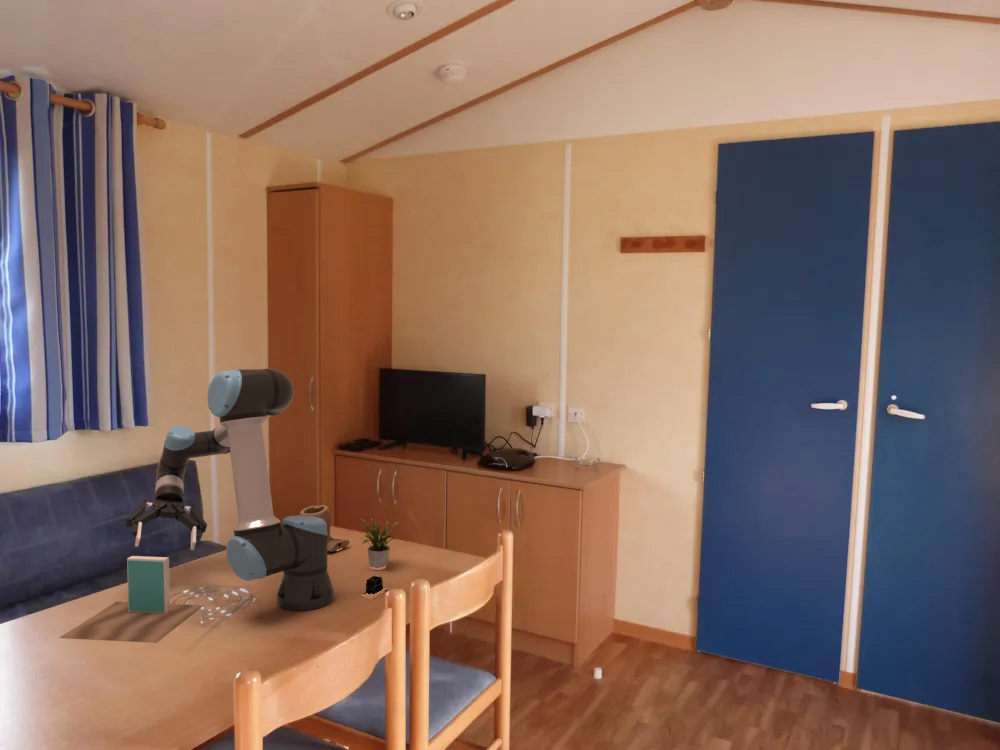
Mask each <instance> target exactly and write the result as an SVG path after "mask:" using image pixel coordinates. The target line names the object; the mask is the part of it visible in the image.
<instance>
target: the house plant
mask: <svg viewBox="0 0 1000 750" xmlns="http://www.w3.org/2000/svg"><path fill="white" fill-rule="evenodd" d="M358 519H359V520H362V521H363V522H364V523H365V524H366V525H363V524H362V525H361V524H360V526H361V527H364V528H363V530H364V531H365V532H366V534H364V535H363V537H365V538H366V539H364V540H363V541H362V544H361V545H364V544H366V543H369V542H371V544H372V545H370V546H368V547H367V549H366V550H367V555H368V564H369V567H370V566H371V567H375V568H380V567H384V566H386V565H387V566H388V563H389V557H390V550H391V547H390V546H389V545H387V544H388V543H389V542H391V541H392V540H394V539H395V537H394V535H392V534H390V535H388V533H389V532H390V531H391V530H392V529H393V528H394V526H395V525H397V524H399V523H400V522H401V521H397V522H395V523H393V524H392V525H391V526H389V527H388V524H389V520H387V522H386V524H385V526H384V529H383V531H381V532H380V529H381V525H382V523H381V522H379V524H378V525H377V524H376V522H375V520H374V518H372V517H371V518H370V520H371V523H372V528H371V526H370V525H369V523H368V522H367V520H365V519H362V518H360V517H359V518H358ZM366 529H367V530H366ZM391 537H392V538H391ZM389 538H390V539H389ZM357 539H361V540H362V538H360V537H358V538H357ZM388 539H389V540H388Z"/></svg>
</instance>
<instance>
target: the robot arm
mask: <svg viewBox="0 0 1000 750" xmlns="http://www.w3.org/2000/svg"><path fill="white" fill-rule="evenodd" d="M294 388H295V387H294V385H293V383H292V380H291V379H290V377H289V376H287V375H286V374H285V373H284V372H282V371H281V370H278V369H275V368H258V369H257V368H250V369H249V368H246V369H231V370H229V369H228V370H224V371H220V372H218V373H217V374H215V376H213V378H212V379H211V382H210V383H209V387H208V389H207V405H208V409H209V410H210V413H211V414H212V415H213V416H215V417H218V418H219V423H220V424H219V425H217V426H216V427H215V428H214V429H212V430H206V431H198V432H197V431H196V432H195V431H194V430H193V429H192V428H190V427H189V426H182V425H176V426H173V427H171V428H170V429H168V432H167V434H166V436H165V439H164V442H163V443H164V444H163V448H162V453H161V456H160V459H159V460H158V463H157V466H156V477H155V479H156V480H155V491H154V500H153V502H148V500H147V499H146V498H145V499H142V502H141V504H139V506H137V507H136V508H135V510H134V511H132V512H131V514H129V516H127V517H126V520H125V527H127V528H129V527H131V528H132V529H131V536H135V542H134V543H135V544H134V547H136V548H137V547H139V545H140V541H141V537H142V536H141V534H142V527H143V526H144V525H145V524H147V523H149V522H150V521H152V520H156V519H157V518H159V517H160V518H162V519H165V518H167V519H175V520H176V521H177V522H181V524H183V525H184V526H185V527H187V528H188V529H189V530H190V531H191V532H190V551H194V550H195V547H196V543H197V541H199V540H200V537H201V533H205V532H206V530H207V528H208V527H207V526H208V524H207V522H206V521H205V519H204V518H203V517H202V515H201V514H200V512H198V510H197V508H196V504H194V503H191V504H190V505H185V504H184V485H185V482H184V480H185V474H186V469H187V466H188V463H189V460H190V459H194V458H196V459H197V458H202V457H210V456H216V455H228V454H230V461H231V470H232V476H233V477H232V478H233V484H234V485H233V487H234V492H235V494H234V495H235V500H236V502H235V503H236V509H237V516H238V518H237V519H238V522H237V524H236V525H235V527H234V528H233V534H234V535H233V537H231V538H229V540H228V541H227V545H226V549H225V552H226V553H225V554H226V558H227V561H228V565H229V566H230V568H231V571H232V572H233V573H234V575H235V576H237V577H238V578H239V579H241V580H242V581H245V582H247V581H250V582H251V581H254V580H261V579H264V578H265V577H268V576H273V575H275V574H279V573H282V572H283V575H282V578H281V582H280V585H279V588H278V591H277V593H276V604H277V606H278V607H280V608H282V609H284V610H288V611H296V612H297V611H302V612H303V611H310V610H311V611H312V610H316V609H320V608H322V607H325V606H327V605H329V604H330V603H332V602H333V600H334V598H335V596H334V595H335V593H334V592H335V588H334V587H333V584H332V581H331V579H330V576H329V575H330V574H329V573H328V551H327V536H328V533H327V524H326V522H325V521H324V520H323V519H321V518H318V517H313V516H299V515H290V516H285V517H284V518H283V521H282V522H281V519H279V518H277V517H276V516H275V514H274V510H273V501H272V493H271V486H270V477H269V471H268V469H269V468H268V463H267V462H268V461H267V453H266V446H265V438H264V430H263V423H264V422H265V421H266V420H268V419H269V418H270V417H275V416H279V415H280V414H281V413H283V412H284V411H285V410H286V409H288V407H290V405H291V403H292V402H293V401H294V395H295V389H294ZM150 508H151V510H149V509H150ZM148 510H149V511H148Z"/></svg>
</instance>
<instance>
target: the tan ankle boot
mask: <svg viewBox="0 0 1000 750" xmlns="http://www.w3.org/2000/svg"><path fill="white" fill-rule="evenodd" d="M298 516H313V517H318V518H321V519H323V520H324V521H325V522H326V524H327V533H328V536H327V552H333V551H335V550H337V549H340V548H343V547H345V548H347V547H348V545H350V540H349V539H340V538H333V537H332V536H331V528H332V512H331V509H330V507H329V506H327V505H325V504H321V505H310V506H307V507H305V508H304V509H302V510H301V511H300V512H299V514H298Z"/></svg>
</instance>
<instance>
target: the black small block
mask: <svg viewBox="0 0 1000 750" xmlns="http://www.w3.org/2000/svg"><path fill="white" fill-rule="evenodd" d="M383 584H384V583H383V577H382V576H378V575H377V576H376V575H373V576H370V577H369V578H367V579H366V583H365V591H366V592H365V591H364V592H365V593H363V592H362V593H363V594H366V593H368V594H371V593H372V594H375V593H377V592H379V591H381V590H382V589H383V587H384V585H383ZM387 590H388V589H387ZM387 590H385V593H387V592H388V591H389V590H388V591H387ZM386 591H387V592H386Z"/></svg>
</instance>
